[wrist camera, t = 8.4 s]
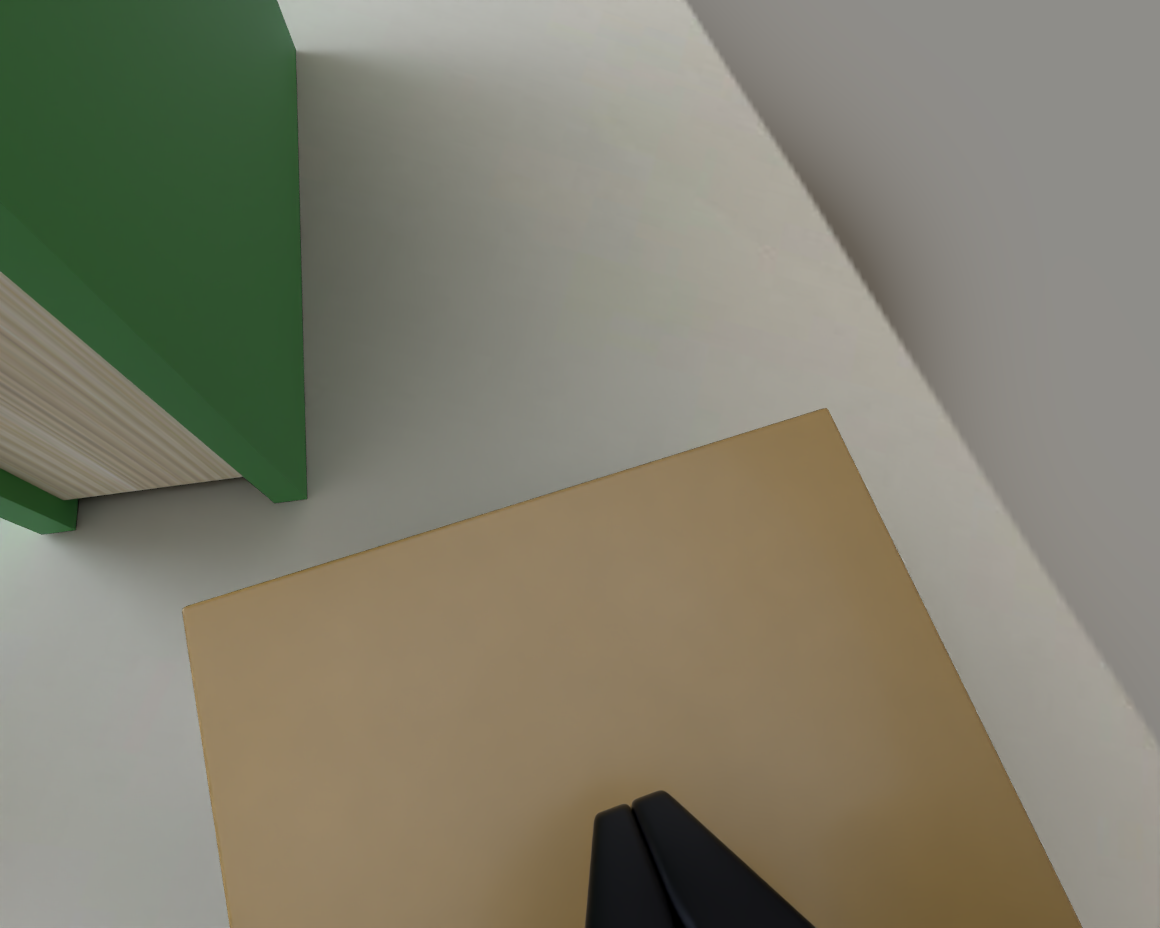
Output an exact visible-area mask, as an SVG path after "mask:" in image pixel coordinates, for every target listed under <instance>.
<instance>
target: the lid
mask: <svg viewBox="0 0 1160 928" xmlns="http://www.w3.org/2000/svg"><path fill="white" fill-rule="evenodd" d="M182 614H183V621H184V627H185V634H186V640H187V647H188V654H189V660H190V667H191V673H192V680H193V687H194V693H195V700H196V706H197V713H198V720H199V726H200V733H201V740H202V746H203V753H204V759H205V766H206V773H207V779H208V786H209V792H210V799H211V806H212V812H213V819H214V825H215V832H216V839H217V845H218V852H219V858H220V865H221V872H222V878H223V885H224V891H225V898H226V905H227V911H228V918H229V924H230V928H585V920H586V908H587V896H588V884H589V872H590V860H591V848H592V836H593V824H594V819H595V816H596V815H597V814H598V813H599V812H602V811H605V810H607V809H610V808H613V807H615V806H618V805H621V804H628V805H629V806H630V807H631V804H632V802H633V801H634V800H635V799H637V798H640V797H642V796H645V795H648V794H650V793H653V792H656V791H659V790H663V791H666V792H667V793H669V794H670V795H671V796H672V797H673V798H675V799H676V800H677V801H678V802H679V803H680V804H681V805H682V806H683V807H684V808H685V809H687V810H688V811H689V812H690V813H691V814H692V815H693V816H694V817H695V818H696V819H698V820H699V821H700V822H701V823H702V824H703V825H704V826H705V827H706V828H707V829H709V830H710V831H711V832H712V833H713V834H714V835H715V836H716V837H717V838H718V839H719V840H721V841H722V842H723V843H724V844H725V845H726V846H727V847H728V848H729V849H730V850H732V851H733V852H734V853H735V854H736V855H737V856H738V857H739V858H740V859H741V860H743V861H744V862H745V863H746V864H747V865H748V866H749V867H750V868H751V869H752V870H754V871H755V872H756V873H757V874H758V875H759V876H760V877H761V878H762V879H763V880H764V881H766V882H767V883H768V884H769V885H770V886H771V887H772V888H773V889H774V890H775V891H777V892H778V893H779V894H780V895H781V896H782V897H783V898H784V899H785V900H786V901H788V902H789V903H790V904H791V905H792V906H793V907H794V908H795V909H796V910H797V911H798V912H800V913H801V914H802V915H803V916H804V917H805V918H806V919H807V920H808V921H809V922H811V923H812V924H813V925H814V926H815V927H816V928H1082V926H1081V923H1080V921H1079V919H1078V917H1077V915H1076V913H1075V911H1074V909H1073V907H1072V905H1071V903H1070V901H1069V899H1068V897H1067V895H1066V893H1065V891H1064V889H1063V887H1062V885H1061V883H1060V881H1059V879H1058V877H1057V875H1056V873H1055V871H1054V868H1053V866H1052V864H1051V862H1050V860H1049V858H1048V856H1047V854H1046V852H1045V850H1044V848H1043V846H1042V844H1041V842H1040V840H1039V838H1038V836H1037V834H1036V832H1035V830H1034V828H1033V826H1032V824H1031V822H1030V820H1029V818H1028V816H1027V814H1026V811H1025V809H1024V807H1023V805H1022V803H1021V801H1020V799H1019V797H1018V795H1017V793H1016V791H1015V789H1014V787H1013V785H1012V783H1011V781H1010V779H1009V777H1008V775H1007V773H1006V771H1005V769H1004V767H1003V765H1002V763H1001V761H1000V759H999V757H998V754H997V752H996V750H995V748H994V746H993V744H992V742H991V740H990V738H989V736H988V734H987V732H986V730H985V728H984V726H983V724H982V722H981V720H980V718H979V716H978V714H977V712H976V710H975V708H974V706H973V704H972V702H971V700H970V697H969V695H968V693H967V691H966V689H965V687H964V685H963V683H962V681H961V679H960V677H959V675H958V673H957V671H956V669H955V667H954V665H953V663H952V661H951V659H950V657H949V655H948V653H947V651H946V649H945V647H944V645H943V642H942V640H941V638H940V636H939V634H938V632H937V630H936V628H935V626H934V624H933V622H932V620H931V618H930V616H929V614H928V612H927V610H926V608H925V606H924V604H923V602H922V600H921V598H920V596H919V594H918V592H917V590H916V588H915V585H914V583H913V581H912V579H911V577H910V575H909V573H908V571H907V569H906V567H905V565H904V563H903V561H902V559H901V557H900V555H899V553H898V551H897V549H896V547H895V545H894V543H893V541H892V539H891V537H890V535H889V533H888V531H887V528H886V526H885V524H884V522H883V520H882V518H881V516H880V514H879V512H878V510H877V508H876V506H875V504H874V502H873V500H872V498H871V496H870V494H869V492H868V490H867V488H866V486H865V484H864V482H863V480H862V478H861V476H860V473H859V471H858V469H857V467H856V465H855V463H854V461H853V459H852V457H851V455H850V453H849V451H848V449H847V447H846V445H845V443H844V441H843V439H842V437H841V435H840V433H839V431H838V429H837V427H836V425H835V423H834V421H833V419H832V416H831V414H830V412H829V410H828V409H827V408H823V409H820V410H816V411H813V412H810V413H807V414H804V415H800V416H797V417H794V418H791V419H787V420H784V421H781V422H778V423H775V424H771V425H768V426H765V427H762V428H758V429H755V430H752V431H749V432H746V433H742V434H739V435H736V436H733V437H729V438H726V439H723V440H720V441H717V442H713V443H710V444H707V445H704V446H700V447H697V448H694V449H691V450H688V451H684V452H681V453H678V454H675V455H672V456H668V457H665V458H662V459H659V460H655V461H652V462H649V463H646V464H643V465H639V466H636V467H633V468H630V469H626V470H623V471H620V472H617V473H614V474H610V475H607V476H604V477H601V478H597V479H594V480H591V481H588V482H585V483H581V484H578V485H575V486H572V487H568V488H565V489H562V490H559V491H556V492H552V493H549V494H546V495H543V496H539V497H536V498H533V499H530V500H527V501H523V502H520V503H517V504H514V505H510V506H507V507H504V508H501V509H498V510H494V511H491V512H488V513H485V514H482V515H478V516H475V517H472V518H469V519H465V520H462V521H459V522H456V523H453V524H449V525H446V526H443V527H440V528H436V529H433V530H430V531H427V532H424V533H420V534H417V535H414V536H411V537H407V538H404V539H401V540H398V541H395V542H391V543H388V544H385V545H382V546H378V547H375V548H372V549H369V550H366V551H362V552H359V553H356V554H353V555H349V556H346V557H343V558H340V559H337V560H333V561H330V562H327V563H324V564H320V565H317V566H314V567H311V568H308V569H304V570H301V571H298V572H295V573H292V574H288V575H285V576H282V577H279V578H275V579H272V580H269V581H266V582H263V583H259V584H256V585H253V586H250V587H246V588H243V589H240V590H237V591H234V592H230V593H227V594H224V595H221V596H217V597H214V598H211V599H208V600H205V601H201V602H198V603H195V604H192V605H188V606H186V607H184V608H183V609H182ZM631 809H632V808H631Z"/></svg>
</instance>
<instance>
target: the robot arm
mask: <svg viewBox="0 0 1160 928" xmlns="http://www.w3.org/2000/svg"><path fill="white" fill-rule="evenodd" d="M631 808H632V809H631ZM585 928H816V927H815V926H814V925H813V924H812V923H811V922H809V921H808V920H807V919H806V918H805V917H804V916H803V915H802V914H801V913H800V912H798V911H797V910H796V909H795V908H794V907H793V906H792V905H791V904H790V903H789V902H788V901H786V900H785V899H784V898H783V897H782V896H781V895H780V894H779V893H778V892H777V891H775V890H774V889H773V888H772V887H771V886H770V885H769V884H768V883H767V882H766V881H764V880H763V879H762V878H761V877H760V876H759V875H758V874H757V873H756V872H755V871H754V870H752V869H751V868H750V867H749V866H748V865H747V864H746V863H745V862H744V861H743V860H741V859H740V858H739V857H738V856H737V855H736V854H735V853H734V852H733V851H732V850H730V849H729V848H728V847H727V846H726V845H725V844H724V843H723V842H722V841H721V840H719V839H718V838H717V837H716V836H715V835H714V834H713V833H712V832H711V831H710V830H709V829H707V828H706V827H705V826H704V825H703V824H702V823H701V822H700V821H699V820H698V819H696V818H695V817H694V816H693V815H692V814H691V813H690V812H689V811H688V810H687V809H685V808H684V807H683V806H682V805H681V804H680V803H679V802H678V801H677V800H676V799H675V798H673V797H672V796H671V795H670V794H669V793H667V792H666V791H663V790H659V791H656V792H653V793H650V794H648V795H645V796H642V797H640V798H637V799H635V800H634V801H633V802H632V804H631V807H630V806H629V805H628V804H621V805H618V806H615V807H613V808H610V809H607V810H605V811H602V812H599V813H598V814H597V815H596V816H595V819H594V824H593V836H592V848H591V860H590V872H589V884H588V896H587V908H586V920H585Z"/></svg>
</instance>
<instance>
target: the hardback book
mask: <svg viewBox="0 0 1160 928" xmlns="http://www.w3.org/2000/svg"><path fill="white" fill-rule="evenodd" d="M237 477H244V478H245V479H246V480H248V481H249V482H250V483H251V484H252V485H254V486H255V487H256V488H257V489H258V490H259V491H261V492H262V493H263V494H264V495H265V496H267V497H268V498H269V499H270V500H271V501H272V502H274V503H280V502H288V501H295V500H303V499H307V476H306V437H305V397H304V358H303V319H302V280H301V240H300V201H299V162H298V122H297V83H296V49H295V46H294V44H293V41H292V39H291V36H290V33H289V31H288V28H287V26H286V23H285V20H284V18H283V15H282V13H281V10H280V7H279V5H278V2H277V0H0V518H3V519H5V520H8V521H10V522H12V523H15V524H17V525H20V526H22V527H25V528H27V529H30V530H32V531H34V532H37V533H39V534H49V533H57V532H64V531H72V530H76V519H77V507H78V498H85V497H92V496H100V495H108V494H115V493H123V492H130V491H138V490H146V489H153V488H161V487H168V486H176V485H184V484H191V483H199V482H206V481H214V480H222V479H229V478H237Z"/></svg>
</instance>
